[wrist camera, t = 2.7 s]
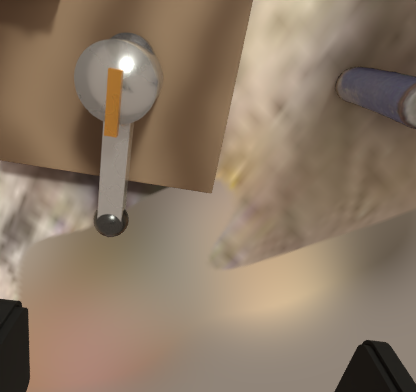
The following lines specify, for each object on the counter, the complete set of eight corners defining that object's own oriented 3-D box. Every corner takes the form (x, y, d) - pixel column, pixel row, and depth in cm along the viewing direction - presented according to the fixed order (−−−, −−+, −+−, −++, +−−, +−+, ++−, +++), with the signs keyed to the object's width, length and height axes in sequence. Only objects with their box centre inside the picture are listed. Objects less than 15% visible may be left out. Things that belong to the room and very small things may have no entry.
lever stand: (255, -27, 21) (271, -45, 17) (210, 185, 28) (214, 213, 23) (-9, -90, 20) (-67, -128, 15) (5, 153, 26) (-33, 176, 21)
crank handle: (97, 25, 21) (72, 21, 16) (168, 40, 21) (161, 40, 17) (88, 214, 26) (67, 249, 22) (144, 222, 27) (135, 258, 22)
